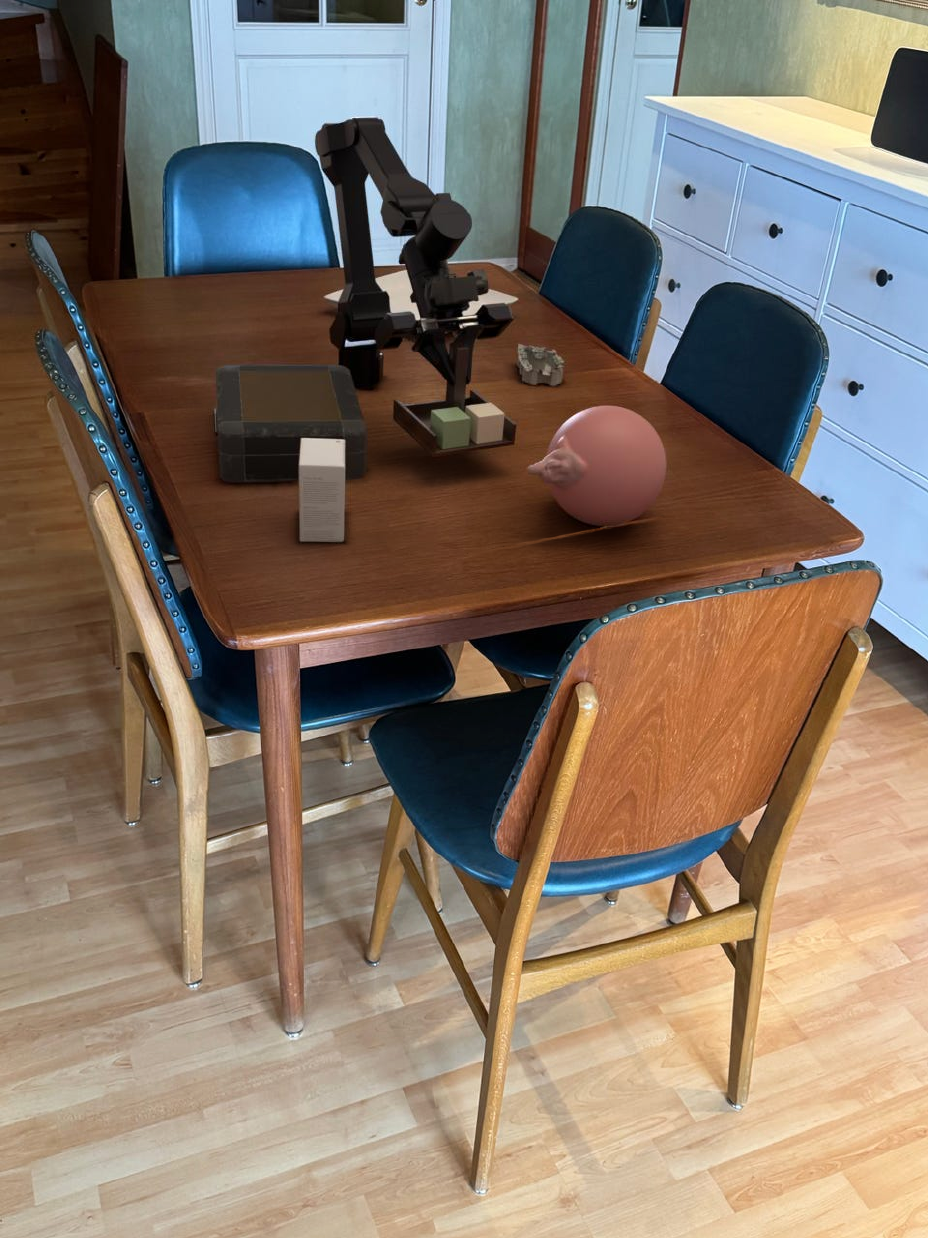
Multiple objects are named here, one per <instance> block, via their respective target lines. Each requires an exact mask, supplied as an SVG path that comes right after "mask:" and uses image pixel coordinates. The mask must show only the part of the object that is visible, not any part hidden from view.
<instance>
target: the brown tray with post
mask: <svg viewBox="0 0 928 1238" xmlns="http://www.w3.org/2000/svg"><path fill="white" fill-rule="evenodd" d="M448 354H449V357H450V360H451V363H452V366H453V369H454V373H455V378H456V384H455V386H451V385H450V384H449V383H448V382H447V381H446V387H445V399H440V400H439V399H437V400H432V401H423V402H416V403H415V402H414V403H408V404H404V403H403V402H401V401H400V400H399V399H398V398H393V409H392V420H393V421H394V423H396V424H398V426H399V427H400V428H401V429H402V430H403V431H405V432H406V433H407V434H408V435H409V436H410V437H411V438H412V439H413V440H414V441H415V442H416V443H417V444H418V445H419V446H420V447H422V448H423V450H425V452H427V453H428V454H429V455H430V457H432V458H434V457H435V458H436V457H441V456H448V455H455V454H461V453H467V452H468V453H469V452H475V451H482V450H487V449H488V450H489V449H494V448H495V449H496V448H502V447H508V446H514V445H515V442H516V433H517V423H516V422H515V421H514V420H512V419H511V418H509V416H508V415H506V414H505V415H504V425H503V435H502V441H495V442H488V443H481V444H476V443H475V442H474V441H472V440H471V439H470V438H469V445H468V446H462V447H455V448H448V449H441V448H440V447H439V446H438V445H437V435H436V434H435V433H434V432H433V431H432V430H431V429H430V422H431V410H438V409H446V408H453V407H458V408H459V409H460V410H462V411H463V412H464V413H465V407H466V406H469V405H477V404H485V403H491V402H490V401H489V400H488V399H486V398H485V397H483V396H482V394H480V393H479V392H477V391H476V390H475V389H474V388H470V389H469V396H466V392H467V385H466V381H467V368H468V355H469V348H468V347H467V346H466V345H464V344H463V343H462V342H457V343H453V342H449V344H448Z"/></svg>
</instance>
